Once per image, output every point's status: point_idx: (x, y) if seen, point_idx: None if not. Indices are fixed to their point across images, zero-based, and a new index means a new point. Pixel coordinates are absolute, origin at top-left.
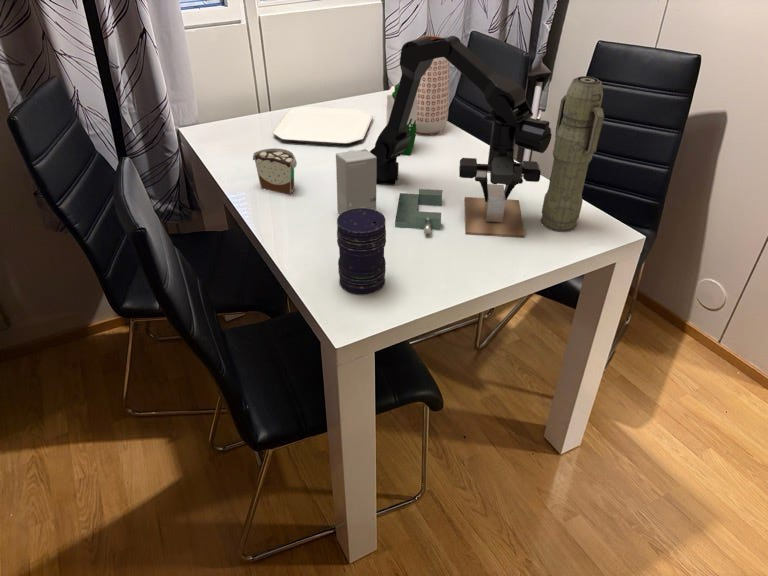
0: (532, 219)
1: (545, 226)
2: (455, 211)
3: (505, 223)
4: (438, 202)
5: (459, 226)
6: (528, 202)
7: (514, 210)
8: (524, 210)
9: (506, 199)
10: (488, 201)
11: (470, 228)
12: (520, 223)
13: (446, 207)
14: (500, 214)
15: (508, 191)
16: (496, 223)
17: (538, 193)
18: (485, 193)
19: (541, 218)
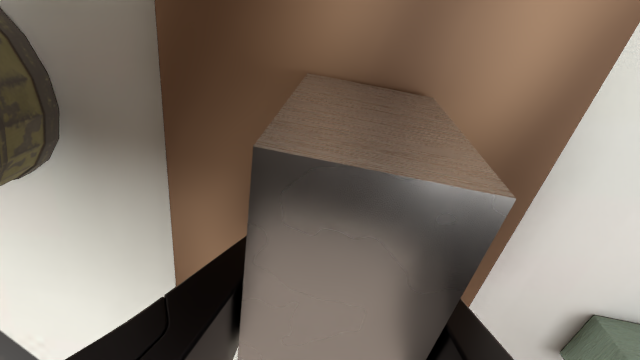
0: (109, 135)
1: (11, 27)
2: (544, 261)
3: (284, 73)
4: (625, 336)
5: (632, 86)
6: (137, 287)
7: (206, 223)
8: (156, 228)
9: (237, 242)
10: (498, 179)
11: (600, 9)
12: (177, 66)
13: (572, 300)
14: (324, 93)
15: (184, 311)
16: (350, 79)
17: (98, 337)
18: (472, 330)
19: (44, 121)
